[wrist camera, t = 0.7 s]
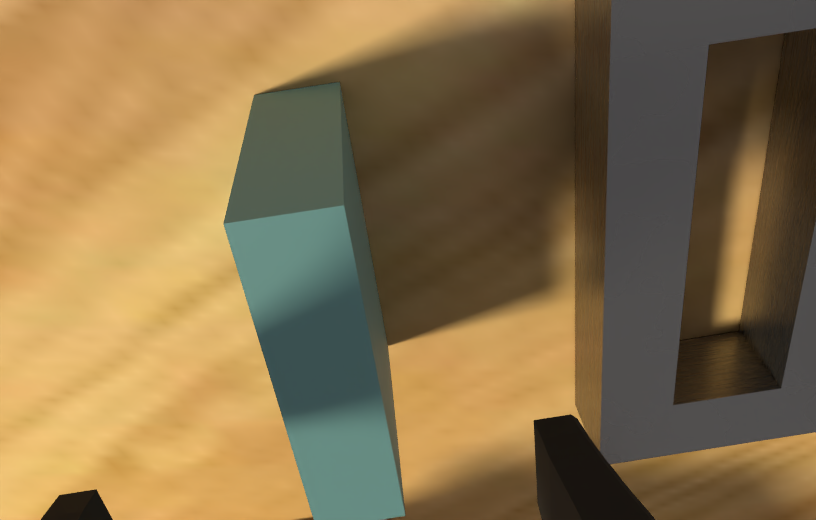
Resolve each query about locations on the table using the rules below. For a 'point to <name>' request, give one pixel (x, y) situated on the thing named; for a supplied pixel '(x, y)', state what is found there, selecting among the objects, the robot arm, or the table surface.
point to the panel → (317, 300)
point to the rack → (687, 233)
